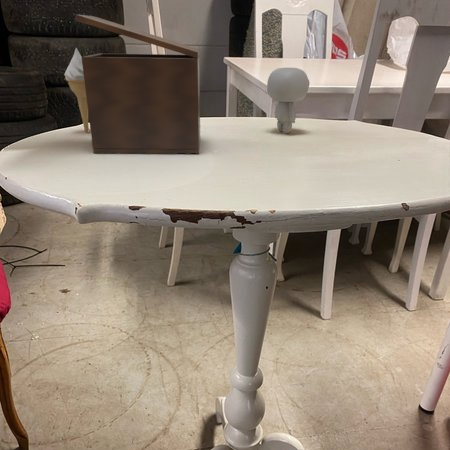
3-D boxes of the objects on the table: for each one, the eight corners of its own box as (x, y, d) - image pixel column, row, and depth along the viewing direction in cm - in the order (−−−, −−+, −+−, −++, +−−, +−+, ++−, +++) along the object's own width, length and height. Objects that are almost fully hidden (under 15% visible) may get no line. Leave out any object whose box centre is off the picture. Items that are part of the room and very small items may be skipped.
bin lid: (74, 20, 68) (75, 14, 68) (93, 21, 79) (94, 16, 79) (196, 58, 71) (198, 52, 71) (198, 54, 82) (199, 49, 82)
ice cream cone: (69, 134, 91) (56, 47, 84) (76, 129, 96) (64, 46, 88) (98, 135, 91) (88, 48, 84) (103, 130, 96) (94, 47, 89)
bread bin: (93, 153, 78) (81, 56, 71) (107, 138, 89) (98, 53, 82) (198, 154, 78) (197, 58, 71) (200, 139, 89) (199, 54, 82)
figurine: (310, 134, 95) (317, 68, 89) (278, 137, 92) (282, 69, 86) (289, 127, 101) (294, 66, 95) (259, 130, 98) (262, 66, 92)
